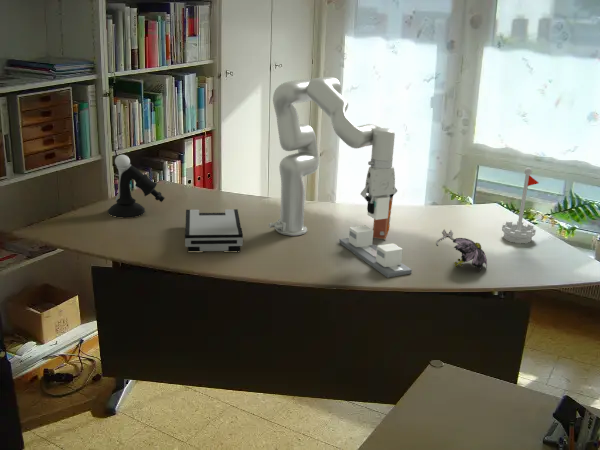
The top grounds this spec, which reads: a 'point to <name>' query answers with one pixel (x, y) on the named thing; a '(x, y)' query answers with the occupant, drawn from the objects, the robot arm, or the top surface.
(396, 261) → the block
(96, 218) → the top surface
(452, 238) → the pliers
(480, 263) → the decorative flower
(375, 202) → the block
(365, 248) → the din rail
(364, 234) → the module left
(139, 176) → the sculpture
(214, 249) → the game console
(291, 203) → the robot arm
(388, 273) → the rail board
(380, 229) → the control panel
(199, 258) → the top surface
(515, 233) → the flag stand
